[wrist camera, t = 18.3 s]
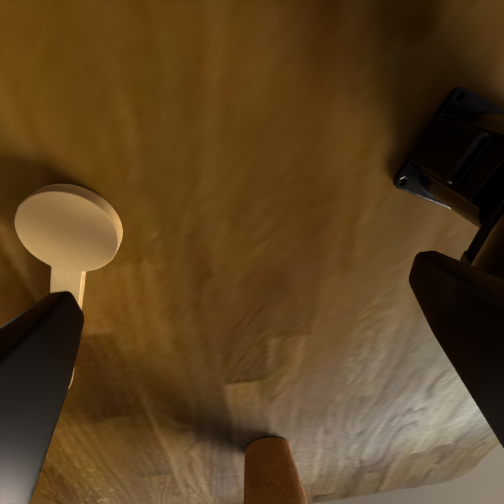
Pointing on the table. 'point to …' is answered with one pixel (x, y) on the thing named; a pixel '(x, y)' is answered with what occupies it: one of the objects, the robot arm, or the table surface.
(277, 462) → the disposable coffee cup
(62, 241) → the wooden spoon
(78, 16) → the table surface
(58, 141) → the table surface
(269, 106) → the table surface
